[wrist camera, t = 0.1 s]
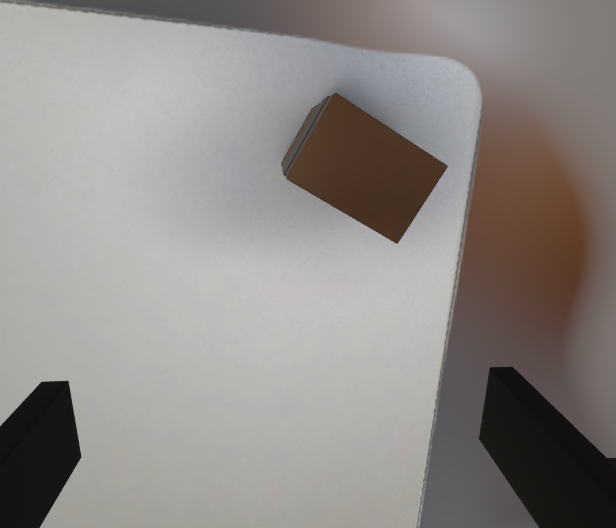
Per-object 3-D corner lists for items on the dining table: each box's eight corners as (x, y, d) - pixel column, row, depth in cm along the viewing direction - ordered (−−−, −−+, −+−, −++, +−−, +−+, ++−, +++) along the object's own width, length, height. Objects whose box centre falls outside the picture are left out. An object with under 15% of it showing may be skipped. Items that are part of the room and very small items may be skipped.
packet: (279, 164, 30) (284, 179, 20) (312, 106, 30) (334, 90, 19) (356, 209, 32) (398, 245, 21) (389, 155, 31) (450, 166, 20)
